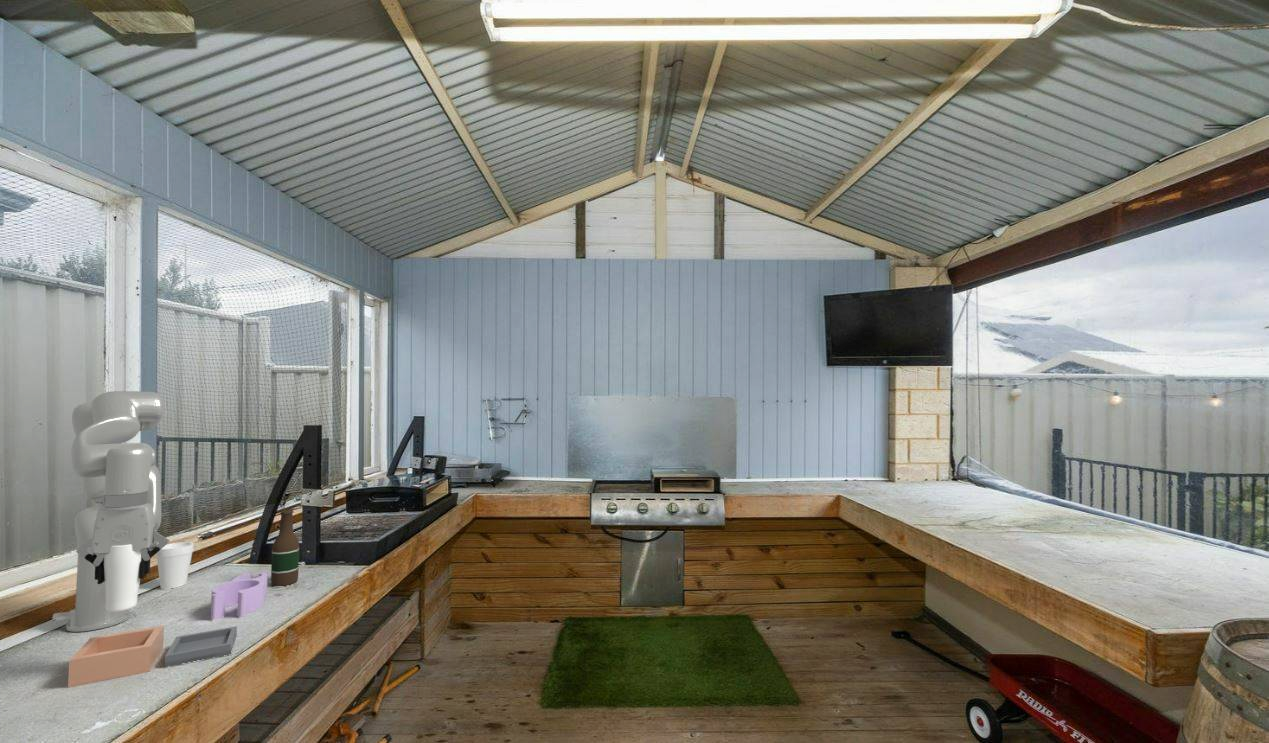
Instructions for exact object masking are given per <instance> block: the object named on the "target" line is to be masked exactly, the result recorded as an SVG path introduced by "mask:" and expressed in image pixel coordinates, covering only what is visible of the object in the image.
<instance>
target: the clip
mask: <svg viewBox="0 0 1269 743" xmlns="http://www.w3.org/2000/svg"><path fill="white" fill-rule="evenodd" d="M268 574H269V573H267V572H265V571H264V572H262V571H261V572H259V573H258V577H252V578H251V573H250V572H249V573H248V572H247V573H243V574H241V575H238V576H235V577H234V579H233V580H230V581H228V582H224V583H221V584H219V585H216V586H215V587H213V588H211V597H210V598H211V600H210V603H211V605H210V620H211V619H212V620H213V619H218V618H220V619H222V618H221V617H223V616H224V617H225V609H226V608H225V607H227V606H230V607H232V606H231V605H234V606H236V605H235V604H238V605H237V612H236V617H237V616H238V617H237V618H239V617H243V618H245V617H246V615H245V614H247V613H250V614H252V613H251V612H253V613H255V612H254V611H256V610H258V609H260V608H261V609H263V608H264V607H265V599H266V598H267V597H266V596H268ZM265 597H266V598H265ZM264 598H265V599H264ZM263 606H264V607H263ZM262 607H263V608H262ZM227 608H228V607H227ZM261 609H260V610H261ZM258 611H259V610H258ZM256 612H257V611H256ZM247 615H248V614H247ZM244 616H245V617H244ZM224 617H223V618H224ZM218 620H219V619H218Z"/></svg>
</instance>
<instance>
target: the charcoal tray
mask: <svg viewBox="0 0 1269 743" xmlns="http://www.w3.org/2000/svg"><path fill="white" fill-rule="evenodd" d="M237 628H238V626H230V627H224V628H219V629H213V630H207V631H202V632H195V633H191V634H184V635H179V636H175V638H174V640H173V642H172V643H171V645H170V647H169V649H168V651H167V652H166V654H165V656H164V668H165V667H166V668H169V667H168V666H171V667H174V666H173V665H176V666H178V665H177V664H181V665H183V664H182V663H186V664H189V663H188V662H191V663H194V662H193V661H197V660H202V659H207V658H212V659H214V658H213V657H217V658H219V657H218V656H222V657H225V656H224V655H227V656H230V655H229V654H232V652H233V649H232V648H234V646H233V645H235V642H236V640H237V634H238V633H237V631H238V630H237ZM231 651H232V652H231ZM207 660H208V659H207ZM202 661H203V660H202ZM197 662H198V661H197Z"/></svg>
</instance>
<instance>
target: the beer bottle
mask: <svg viewBox="0 0 1269 743" xmlns="http://www.w3.org/2000/svg"><path fill="white" fill-rule="evenodd" d="M293 513H294V510H293V509H291V508H287V509H282V510H280V517H281V518H280V525H279V531H278V535H277V537H276V538H275V540H274V542H273V544H272V548H271V562H270V563H271V564H270V565H271V566H270V567H271V568H270V569H271V570H270V571H271V572H270V585H272V586H271V587H273V586H284V587H288V586H287V585H289V586H292V585H291V584H293V585H295V584H294V583H296V584H297V582H298V580H299V569H300V568H299V565H300V563H299V562H300V561H299V560H300V541H299V538H298V537H297V536H296V533H295V532H294V522H293V521H294V520H293Z"/></svg>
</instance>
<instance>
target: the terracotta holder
mask: <svg viewBox="0 0 1269 743" xmlns="http://www.w3.org/2000/svg"><path fill="white" fill-rule="evenodd" d="M164 629H165V626H164V625H159V626H154V627H147V628H142V629H136V630H135V629H134V630H129V631H122V632H118V633H110V634H105V635H99V636H93V637H90V638H89V639H88V640H86V642H85V643H84V644H83V645H82V646H81V647H80V649H78V651H77V652H76V653H75V654H74V655H73V656H72V657H71V658H70V659H69V661H68V663H69V664H68V667H69V668H68V679H67V680H68V681H67V683H68V684H67V687H68V688H71V687H72V688H73V687H77V686H81V685H88V684H92V683H98V682H103V681H108V680H112V679H119V678H124V677H129V676H134V675H139V674H143V673H148V672H150V671H151V670H152V668H153V667H154V664H155V663H156V662H157V660H156V659H158V658H159V656H160V654H161V653H162V651H163V650H164V635H165V633H164V632H165V630H164Z"/></svg>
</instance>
